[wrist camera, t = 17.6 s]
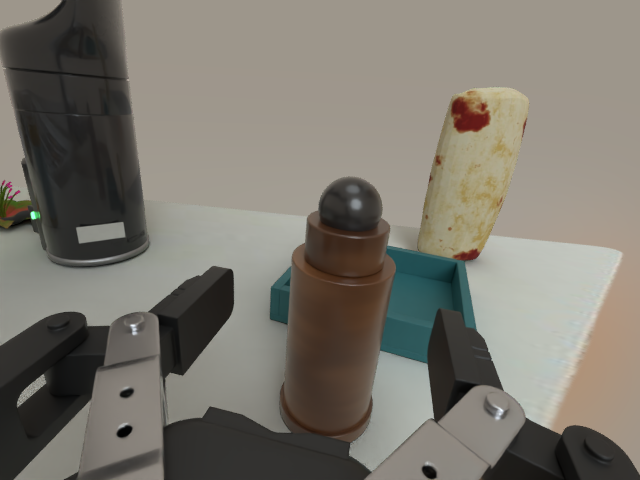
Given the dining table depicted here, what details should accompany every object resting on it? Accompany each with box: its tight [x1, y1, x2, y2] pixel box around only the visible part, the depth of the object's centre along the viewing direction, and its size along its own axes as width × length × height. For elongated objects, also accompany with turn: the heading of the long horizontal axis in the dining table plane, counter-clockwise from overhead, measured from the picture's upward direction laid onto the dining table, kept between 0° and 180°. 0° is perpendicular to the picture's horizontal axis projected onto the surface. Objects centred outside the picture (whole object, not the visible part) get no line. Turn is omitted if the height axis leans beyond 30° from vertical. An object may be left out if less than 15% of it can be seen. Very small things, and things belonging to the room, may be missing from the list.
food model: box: [418, 87, 529, 260], centre depth 40 cm, size 10×7×20 cm
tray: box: [270, 246, 477, 363], centre depth 32 cm, size 16×14×3 cm
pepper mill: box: [280, 177, 396, 442], centre depth 18 cm, size 6×6×14 cm
